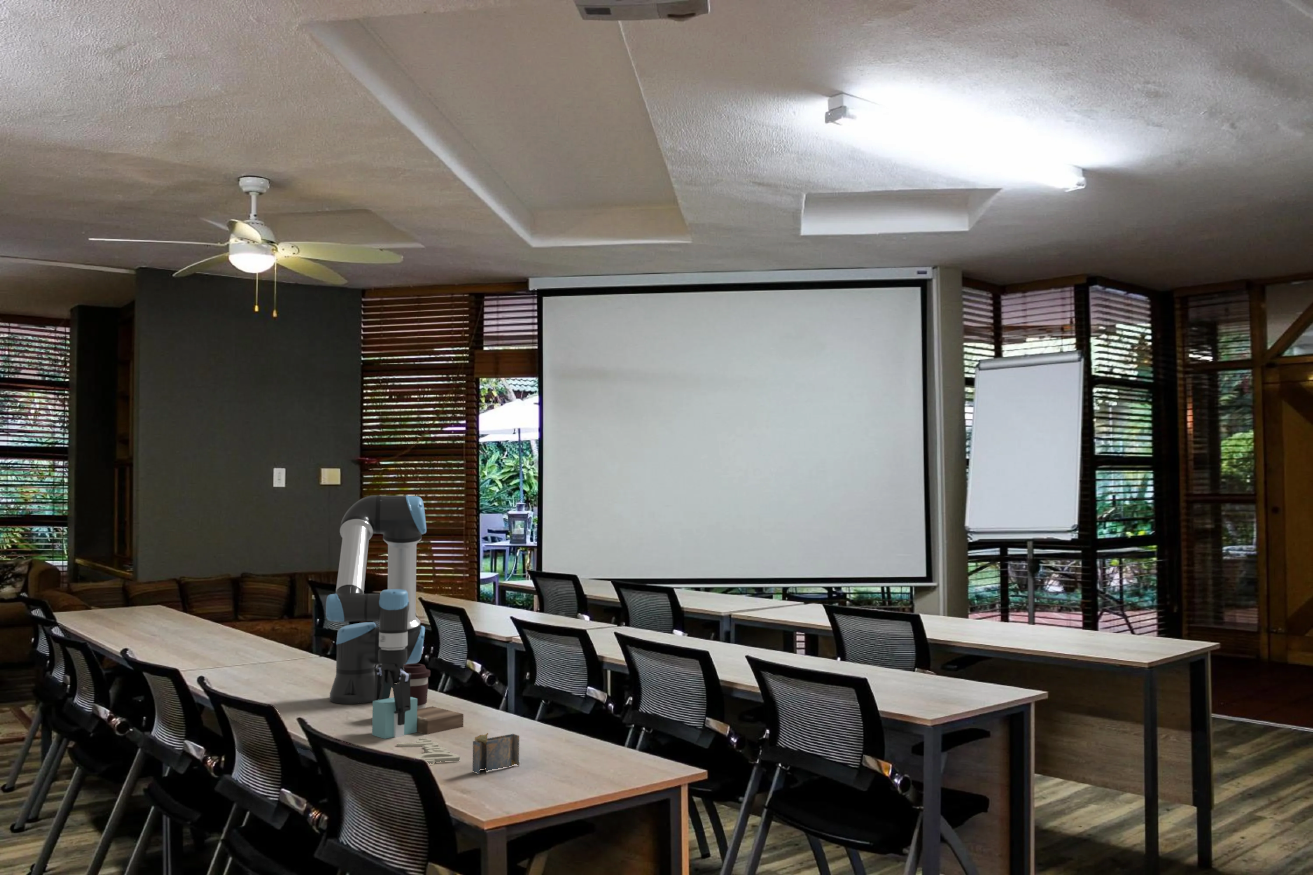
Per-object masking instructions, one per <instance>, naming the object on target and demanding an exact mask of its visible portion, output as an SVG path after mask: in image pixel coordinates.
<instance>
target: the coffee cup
mask: <svg viewBox="0 0 1313 875" xmlns="http://www.w3.org/2000/svg"><path fill="white" fill-rule="evenodd" d="M403 666H404V671H405V672H406V673H411V680H410V697H413V698H417V709H421V708H427V706H426V705H427V702H428V691H429V677H431V670H430V669H428V668H426V665H425V664H424V663H423V664H422V663H413V664H405V665H404V664H403Z"/></svg>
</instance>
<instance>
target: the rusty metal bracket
mask: <svg viewBox="0 0 1313 875" xmlns="http://www.w3.org/2000/svg"><path fill="white" fill-rule="evenodd" d="M488 736H489V733H488V732H487V733H485V734H480V735H478V736H475V737H474V740H472V771H474V772H477V773H479V774H480V771H479V770H480V769H485V768H486V770H485V772H486V771H488V770H492V769H498V768H503V767H509V766H512V765H514V764H517V765H519V766H520V735H519V734H516V733H510V734H504V735H503V734H502V735H499V736H495V737H488Z"/></svg>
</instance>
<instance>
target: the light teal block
mask: <svg viewBox="0 0 1313 875" xmlns="http://www.w3.org/2000/svg"><path fill="white" fill-rule="evenodd" d="M410 702H411V709H410V710H408V711H406V712H405V724H404V736H405V735H410V734H414V733H418V732H417V698H413V697H410ZM395 711H396V706H395V700H394V696H393V697H389V698H387V699H381V700H379V699H378V700H375V701H372V722H371V724H372V726H371V728H372V729H371V730H372V731H371V735H372V736H374V737H377V738H381V739H386V740H387V739H391V738H395V737H394V712H395Z"/></svg>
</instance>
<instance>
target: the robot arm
mask: <svg viewBox="0 0 1313 875" xmlns="http://www.w3.org/2000/svg"><path fill="white" fill-rule="evenodd" d="M425 512H426V511H425V506H424V500H423V499H422V498H421V496H415V495H408V494H405V495H402V494H401V495H374V494H373V495H368V496H364V497H363V498H360V499H359V500H358V501H356V502H354V503H353V504H352V506H350V507H349V508H348V509H347V511H346V512H345V513H344V516H343V517H342V518H341V519H342V520H341V522H340V526H339V527H340V528H339V533H340V534H339V536H340V537H341V538H342V539H341V547H340V556H339V565H338V572H337V579H336V588H335V593H332V594H328V595H327V597H326V601H325V616H326V619H327V621H329V622H335V623H336V622H337V623H338V622H339V623H346V622H349V623H350V622H359V623H353V624H347V625H344V626H342V627H341V628H339V629H338V630H337V635H336V643H335V645H336V663H335V666H336V667H335V668H336V669H335V677H334V680H333V683H332V686H331V689H330V692H329V702H331V703H335V704H342V705H346V704H347V705H349V704H350V705H354V704H355V705H357V704H367V703H373V701H375V700H381V699H387V698H391V697H390V696H391V692H392V694H393V697H394V700H395V706H396V711H395V712H394V737H393V738H395V739H396V738H400V737H405V735H404V724H405V712H406V711H408V710H410V709H411V702H410V680H411V673H406V672H405V671H404V666H403V665H405V664H418V663H419V662H420V660H421V659H422V654H423V648H424V642H425V641H424V640H425V632H426V627H425V626H424V625H421V619H419V618H418V617H417V615H416V614H417V613H416V612H417V611H416V610H417V609H416V608H417V607H416V606H417V603H416V602H417V601H416V600H417V544H418V543H419V542H420V541H422V538H423V537H422V535H424V534H426V533H427V522H426V513H425ZM375 534H378V535H379V534H381V535H382V540H383V541H384V543H386V544H387V589H383V590H382V591H380V593H365V592H364V591H365V581H366V572H367V562H368V551H369V542H370V541H369V540H371V538H372V537H373V535H375ZM375 622H379V623H378V625H379V626H377V624H376V623H375ZM376 665H378V666H379V665H380V667H376Z"/></svg>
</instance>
